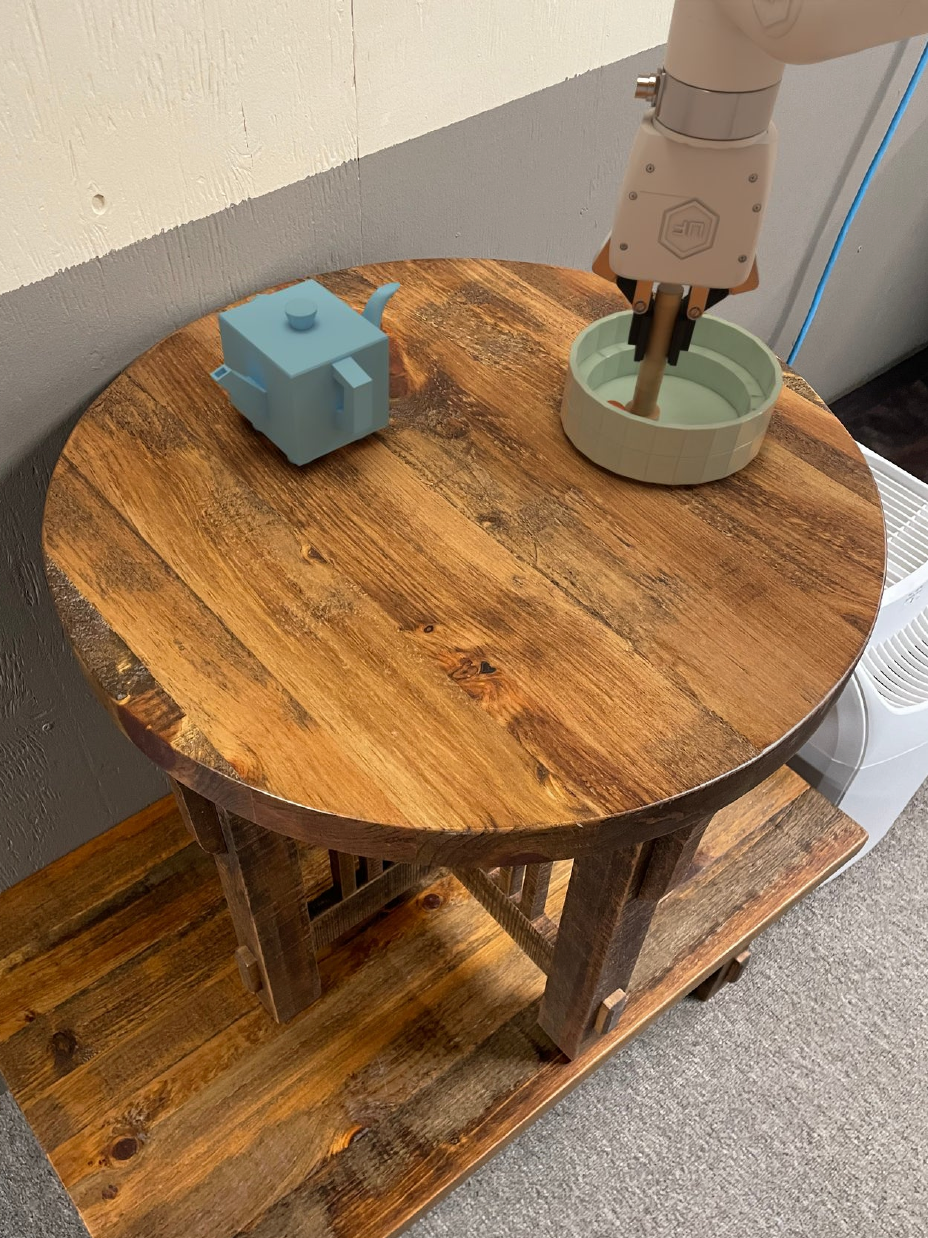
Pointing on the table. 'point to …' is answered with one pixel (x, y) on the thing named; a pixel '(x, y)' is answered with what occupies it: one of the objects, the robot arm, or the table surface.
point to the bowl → (671, 402)
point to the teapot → (307, 367)
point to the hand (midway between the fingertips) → (655, 352)
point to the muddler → (656, 352)
